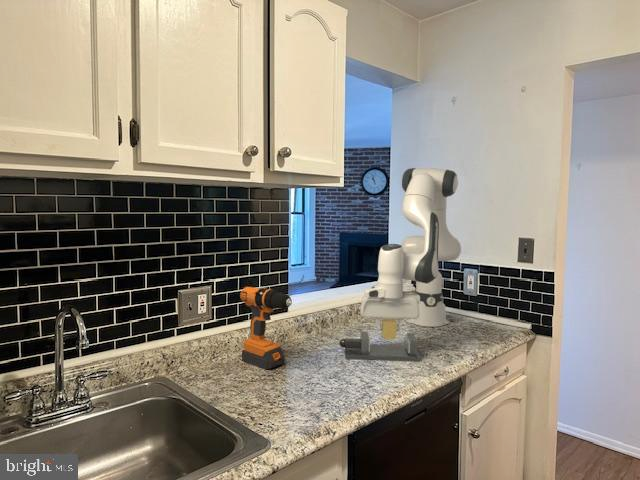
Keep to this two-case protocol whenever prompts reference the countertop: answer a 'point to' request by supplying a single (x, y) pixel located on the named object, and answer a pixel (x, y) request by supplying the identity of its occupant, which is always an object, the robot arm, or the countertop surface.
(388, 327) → the block
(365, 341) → the jaw
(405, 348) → the vise
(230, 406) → the countertop surface
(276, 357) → the power drill
